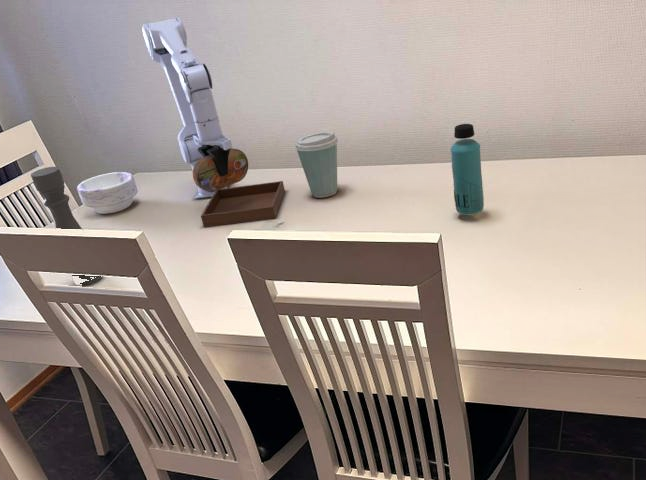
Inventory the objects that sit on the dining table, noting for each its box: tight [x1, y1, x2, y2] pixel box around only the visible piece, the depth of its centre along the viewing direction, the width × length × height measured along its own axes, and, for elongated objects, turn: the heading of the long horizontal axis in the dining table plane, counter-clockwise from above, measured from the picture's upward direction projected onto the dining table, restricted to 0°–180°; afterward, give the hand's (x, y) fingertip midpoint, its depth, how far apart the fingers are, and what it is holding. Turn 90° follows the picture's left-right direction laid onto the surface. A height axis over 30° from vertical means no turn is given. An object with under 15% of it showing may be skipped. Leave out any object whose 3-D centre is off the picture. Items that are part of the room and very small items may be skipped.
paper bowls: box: [76, 171, 139, 215], centre depth 195 cm, size 15×15×8 cm
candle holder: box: [30, 166, 103, 287], centre depth 151 cm, size 6×6×25 cm
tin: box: [192, 147, 249, 192], centre depth 176 cm, size 15×3×8 cm, turn 132°
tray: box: [200, 180, 286, 228], centre depth 180 cm, size 18×18×3 cm
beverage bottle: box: [450, 123, 485, 215], centre depth 151 cm, size 6×7×20 cm
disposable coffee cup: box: [295, 130, 339, 199], centre depth 178 cm, size 11×11×15 cm
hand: (220, 174), depth 176 cm, fingers closed on tin, 2 cm apart
